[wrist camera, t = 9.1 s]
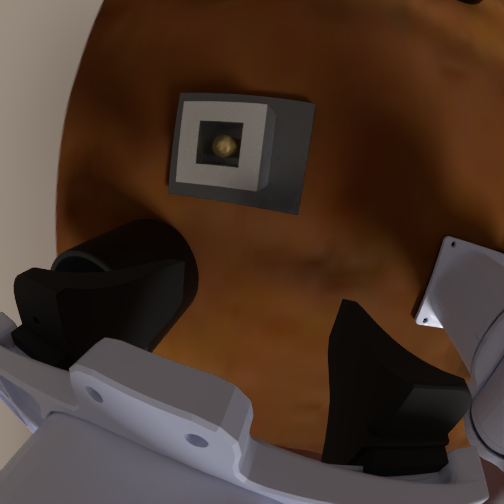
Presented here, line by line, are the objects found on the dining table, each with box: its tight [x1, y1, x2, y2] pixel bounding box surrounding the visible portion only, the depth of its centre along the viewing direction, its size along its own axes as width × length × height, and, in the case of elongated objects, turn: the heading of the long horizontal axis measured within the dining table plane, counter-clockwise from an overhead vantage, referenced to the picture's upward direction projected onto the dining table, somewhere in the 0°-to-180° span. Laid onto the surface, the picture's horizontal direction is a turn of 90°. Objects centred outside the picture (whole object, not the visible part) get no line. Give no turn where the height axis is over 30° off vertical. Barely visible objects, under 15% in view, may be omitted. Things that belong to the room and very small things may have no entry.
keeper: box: [168, 93, 315, 215], centre depth 18 cm, size 10×8×4 cm
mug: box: [51, 219, 199, 353], centre depth 20 cm, size 9×12×9 cm
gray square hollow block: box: [176, 101, 276, 191], centre depth 17 cm, size 5×5×4 cm
